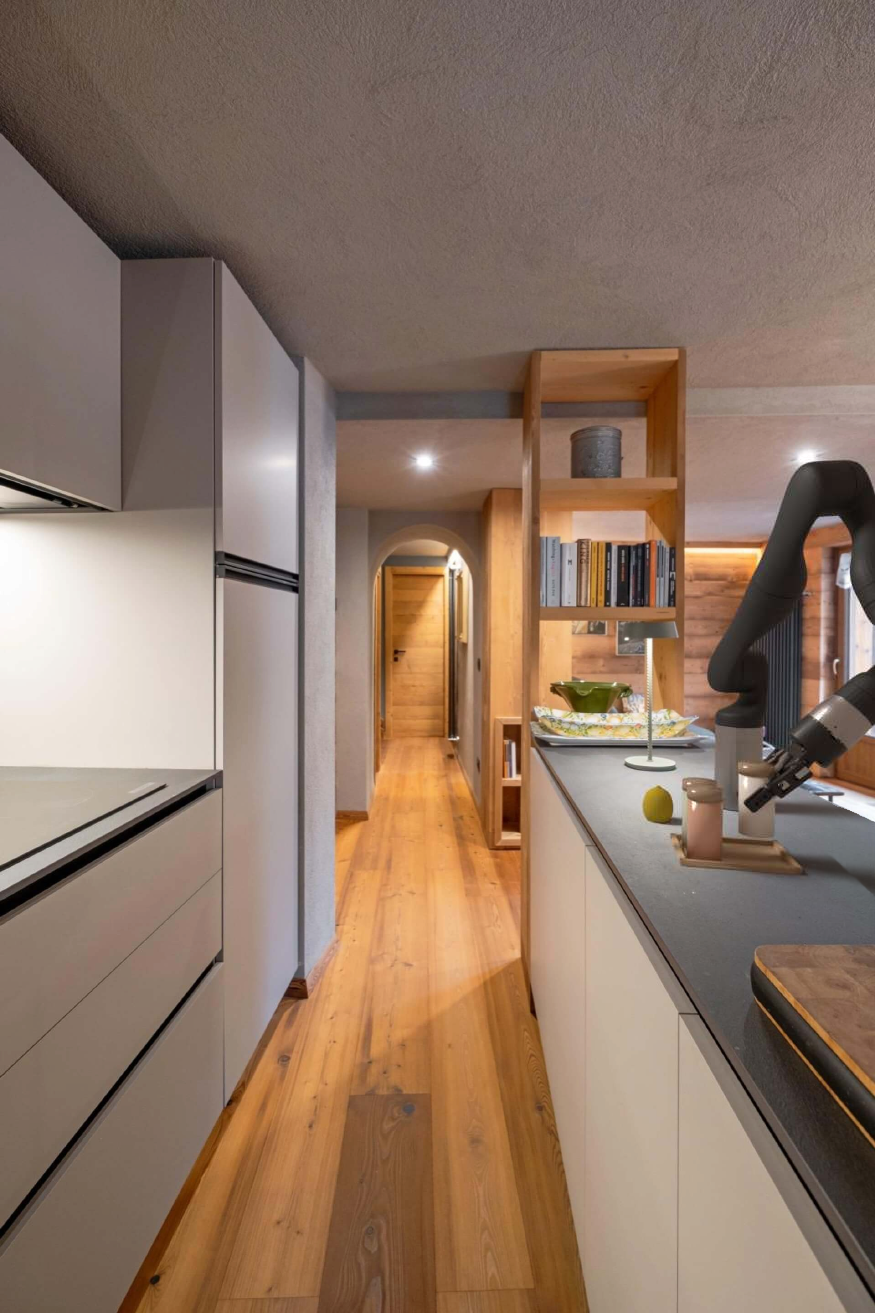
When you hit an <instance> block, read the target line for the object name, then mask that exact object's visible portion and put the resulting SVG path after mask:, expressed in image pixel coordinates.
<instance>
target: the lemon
mask: <svg viewBox="0 0 875 1313" xmlns="http://www.w3.org/2000/svg"><path fill="white" fill-rule="evenodd" d="M642 811H643V813H642V814H643V815H644V817H645V819H646V820H647V821H649V822H650V823H656V824H657V823H658V824H664V823H665V824H666V823H668V822H669V821H670V820H671V819H672V817H673V814H674V801H673V798H672V795H671V794H670V792H669V791H668V790H666V789H665V788H663V787H662V786H661V785H656V786H655V787H652V788H649V789H648V790H647V791H646V792H645V794H644V797H643V800H642Z"/></svg>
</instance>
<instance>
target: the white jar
mask: <svg viewBox="0 0 875 1313" xmlns="http://www.w3.org/2000/svg"><path fill="white" fill-rule="evenodd" d="M774 766H775V764H773V763H768V762H761V761H741V762H738V773H739V805H738V811H737V812H738V813H737V814H738V820H737V822H738V826H737V827H738V828H737V830H738V831H737V832H738V833H739V834H740V835H742V836H745V837H747V838H749V837H750V838H753V839H771V838H774V837H775V835H776V833H775V832H776V830H775V829H776V798H773V797H772V799H771V800H770V801H769V802H767V803H766V804H765V805H764V806H763V807H761V808H760V809H759V810H758V811H757V812H755V813H752V812H751V811H750V810H749V809H748V808H747V807H746V806H745V805H744V803H743V802H744V800H745V799H747V798H748V797H749V796H750V795H751V794H752V793H754V792H755V791H756V790H757V789H758V788H760V787H762V785H763V783H765V781H766V780H767V779H768V778H769V777H770V772H771V771H772V769H773V768H774ZM762 788H763V787H762Z"/></svg>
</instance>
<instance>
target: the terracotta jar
mask: <svg viewBox="0 0 875 1313" xmlns="http://www.w3.org/2000/svg"><path fill="white" fill-rule="evenodd" d="M723 801H724V789H722V788H720V787H716V786H710V785H690V786H687V851H686V857H687V858H688V859H695V860H709V861H722V836H723V835H724V834H723V833H724V832H723V830H724V829H723V828H724V827H723V826H724V820H723V819H724V808H723ZM723 837H724V836H723Z"/></svg>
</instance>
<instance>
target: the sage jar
mask: <svg viewBox="0 0 875 1313" xmlns="http://www.w3.org/2000/svg"><path fill="white" fill-rule="evenodd" d="M690 785H710V786H716V787H717V781H715V780H714V779H712V778H707V777H696V776H695V777H694V776H692V777H690V776H689V777H684V778H682V779H681V790H682V803H681V804H682V811H681V812H682V815H681V834H682V847H683V848H685V849H687V786H690Z"/></svg>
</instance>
